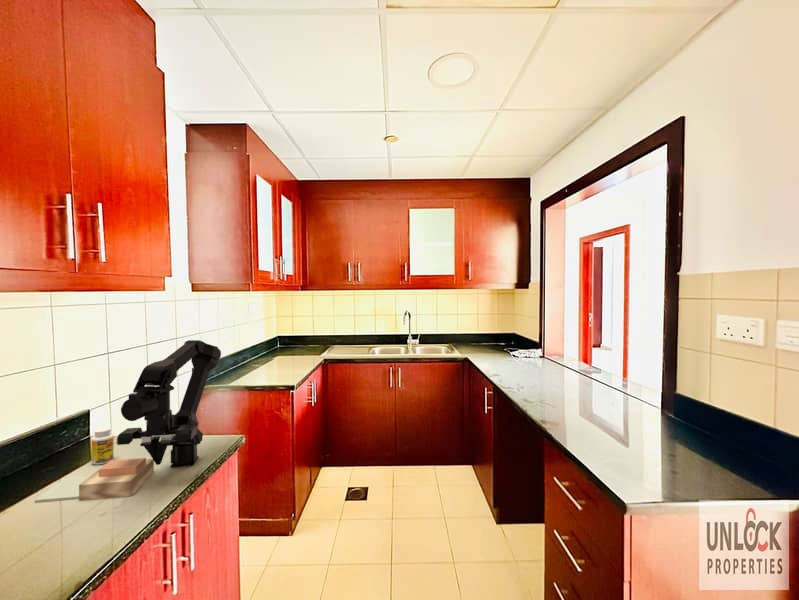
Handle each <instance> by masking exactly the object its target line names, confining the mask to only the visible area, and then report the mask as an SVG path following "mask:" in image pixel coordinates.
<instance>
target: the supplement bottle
mask: <svg viewBox="0 0 799 600" xmlns="http://www.w3.org/2000/svg"><path fill="white" fill-rule="evenodd" d="M111 460H114V434H113V433H112V432H111V427H101V428H98V429H95V430H94V435H93V436H92V437H91V463H92V465H97V466H99V465H105V464H107V463H108V462H109V461H111Z"/></svg>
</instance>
